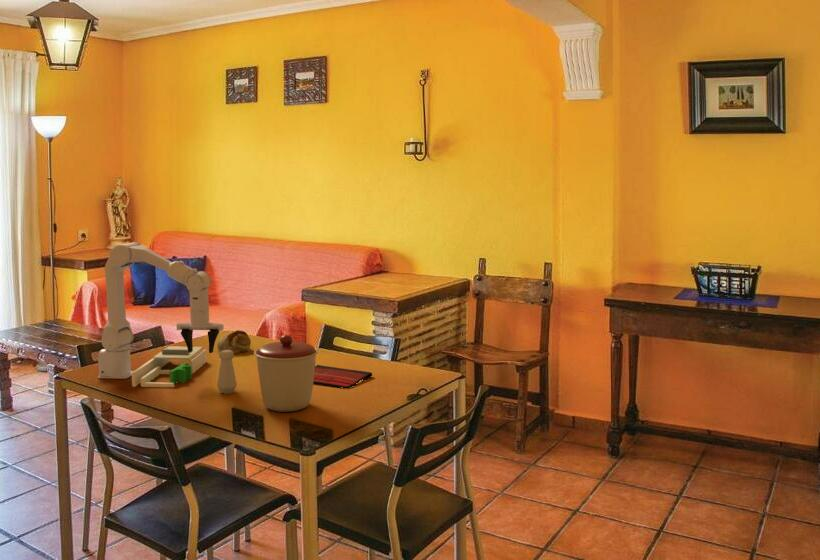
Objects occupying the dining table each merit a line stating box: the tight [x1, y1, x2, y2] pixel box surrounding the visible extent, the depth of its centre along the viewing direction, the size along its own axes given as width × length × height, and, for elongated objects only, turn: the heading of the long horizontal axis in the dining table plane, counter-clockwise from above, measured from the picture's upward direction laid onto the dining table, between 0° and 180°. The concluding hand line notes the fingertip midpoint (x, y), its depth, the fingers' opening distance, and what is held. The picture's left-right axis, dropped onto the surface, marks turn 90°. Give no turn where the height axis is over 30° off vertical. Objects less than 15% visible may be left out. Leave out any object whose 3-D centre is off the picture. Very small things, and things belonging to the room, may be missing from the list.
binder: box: [313, 364, 373, 389], centre depth 255 cm, size 16×2×21 cm
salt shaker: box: [217, 350, 237, 395], centre depth 238 cm, size 6×6×13 cm
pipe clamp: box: [169, 362, 193, 385], centre depth 252 cm, size 11×4×5 cm, turn 173°
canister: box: [253, 334, 319, 413], centre depth 224 cm, size 18×18×21 cm
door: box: [152, 345, 204, 361], centre depth 266 cm, size 12×16×2 cm
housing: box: [131, 349, 207, 388], centre depth 259 cm, size 14×32×4 cm, turn 178°
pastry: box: [216, 330, 252, 355], centre depth 293 cm, size 14×12×8 cm
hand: (200, 352), depth 250 cm, fingers open, 6 cm apart
